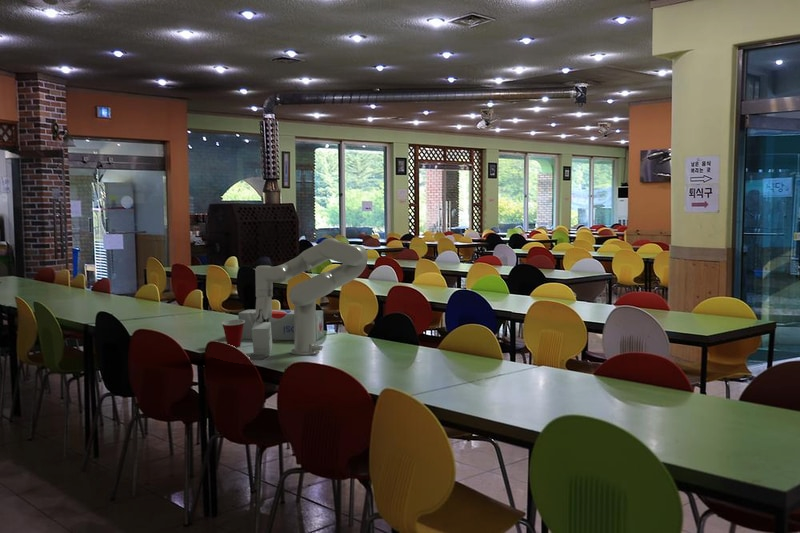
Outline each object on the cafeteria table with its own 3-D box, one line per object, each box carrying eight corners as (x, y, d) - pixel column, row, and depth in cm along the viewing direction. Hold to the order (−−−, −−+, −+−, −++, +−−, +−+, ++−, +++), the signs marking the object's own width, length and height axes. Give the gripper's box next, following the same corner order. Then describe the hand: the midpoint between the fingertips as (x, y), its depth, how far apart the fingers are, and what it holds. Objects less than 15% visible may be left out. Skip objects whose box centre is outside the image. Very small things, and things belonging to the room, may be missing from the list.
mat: (251, 355, 333) (251, 354, 333) (268, 355, 332) (268, 354, 332) (244, 359, 324) (244, 358, 324) (262, 359, 323) (262, 358, 323)
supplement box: (270, 355, 334) (268, 329, 329) (253, 354, 334) (251, 329, 329) (273, 347, 341) (271, 321, 336) (256, 347, 341) (254, 321, 336)
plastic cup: (216, 347, 351) (216, 321, 350) (232, 343, 361) (231, 318, 360) (235, 349, 346) (234, 323, 345) (250, 345, 356) (249, 320, 355)
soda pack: (324, 337, 379) (324, 310, 378) (316, 342, 366) (316, 313, 365) (247, 334, 386) (247, 307, 385) (237, 339, 374) (237, 311, 373)
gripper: (261, 291, 346) (262, 331, 348) (250, 295, 331) (251, 336, 333) (277, 291, 345) (277, 331, 347) (267, 295, 330) (267, 337, 332)
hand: (264, 333), depth 340 cm, fingers closed
